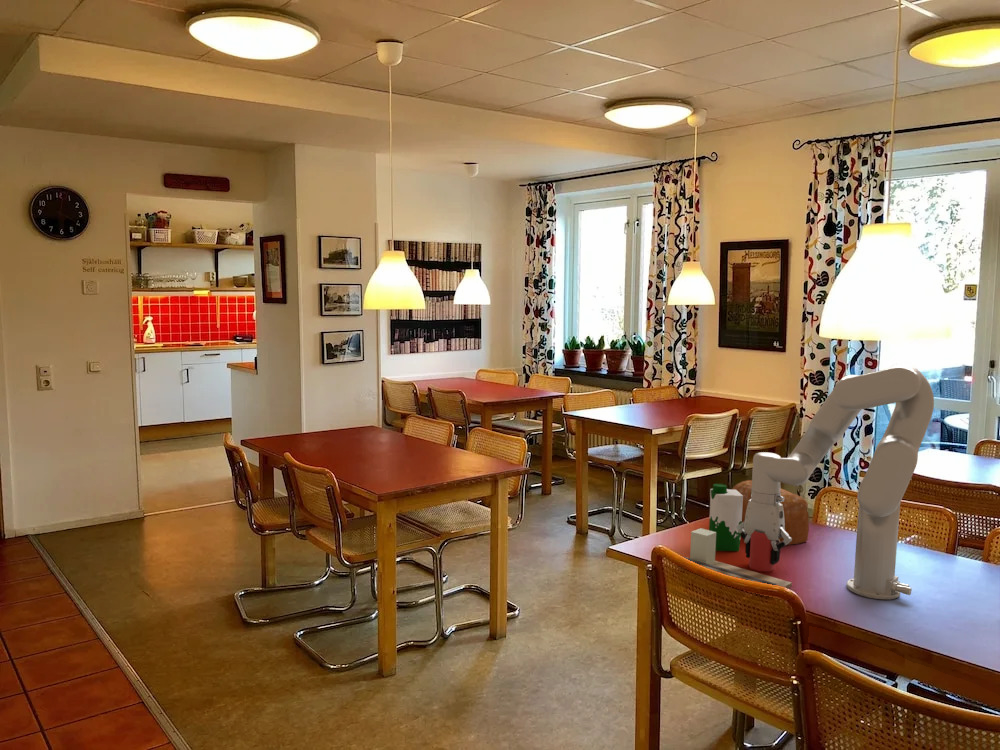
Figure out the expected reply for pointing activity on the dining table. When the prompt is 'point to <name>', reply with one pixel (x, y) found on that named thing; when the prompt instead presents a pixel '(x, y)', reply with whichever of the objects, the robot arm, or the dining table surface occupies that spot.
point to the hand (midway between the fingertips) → (761, 559)
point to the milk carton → (725, 517)
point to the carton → (703, 546)
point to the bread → (793, 512)
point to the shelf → (743, 573)
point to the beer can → (760, 552)
